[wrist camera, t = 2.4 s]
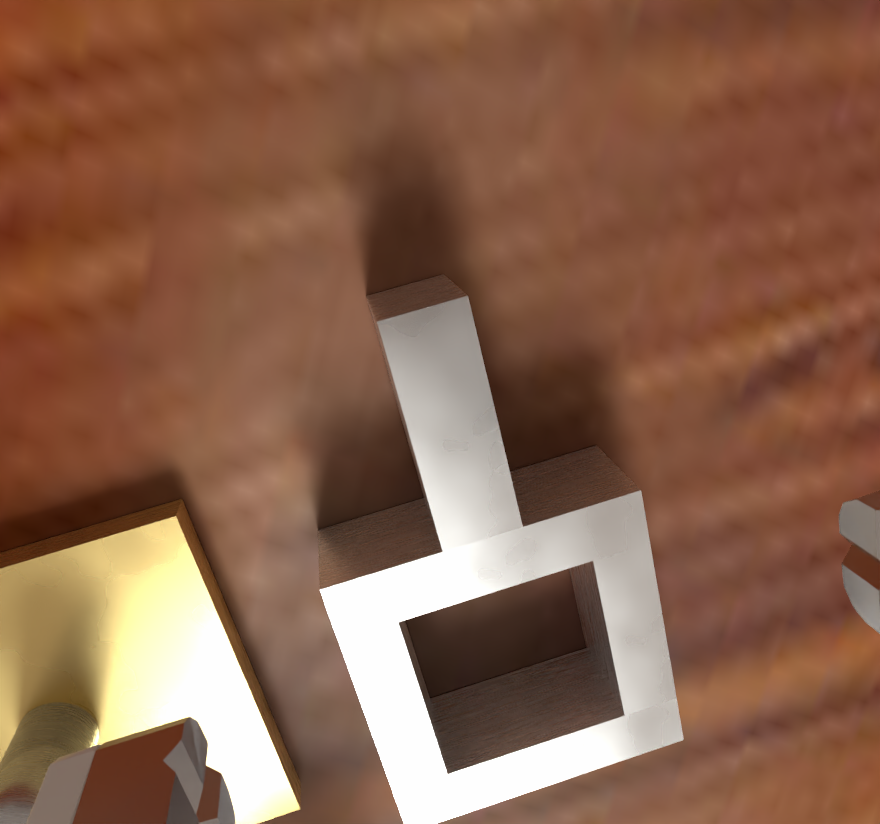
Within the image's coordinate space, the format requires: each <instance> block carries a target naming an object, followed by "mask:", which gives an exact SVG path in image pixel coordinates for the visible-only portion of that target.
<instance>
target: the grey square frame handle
mask: <svg viewBox="0 0 880 824" xmlns="http://www.w3.org/2000/svg"><path fill="white" fill-rule="evenodd" d="M366 298H367V301H368V305H369V308H370V312H371V315H372V318H373V322H374V325H375V329H376V332H377V336H378V339H379V343H380V346H381V350H382V353H383V357H384V360H385V364H386V367H387V371H388V374H389V378H390V381H391V385H392V388H393V392H394V395H395V398H396V402H397V405H398V409H399V412H400V416H401V419H402V423H403V426H404V430H405V433H406V437H407V440H408V444H409V447H410V451H411V454H412V458H413V461H414V465H415V468H416V472H417V475H418V478H419V482H420V485H421V489H422V492H423V496H424V498H422V499H419V500H415V501H412V502H409V503H406V504H402V505H399V506H396V507H392V508H389V509H386V510H383V511H379V512H376V513H373V514H369V515H366V516H363V517H360V518H356V519H353V520H350V521H346V522H343V523H340V524H337V525H333V526H330V527H327V528H323V529H320V530H318V554H319V582H320V592H321V595H322V598H323V600H324V603H325V606H326V609H327V611H328V614H329V617H330V620H331V622H332V625H333V628H334V631H335V634H336V636H337V639H338V642H339V645H340V647H341V650H342V653H343V656H344V658H345V661H346V664H347V667H348V670H349V672H350V675H351V678H352V681H353V683H354V686H355V689H356V692H357V694H358V697H359V700H360V703H361V705H362V708H363V711H364V714H365V717H366V719H367V722H368V725H369V728H370V730H371V733H372V736H373V739H374V741H375V744H376V747H377V750H378V753H379V755H380V758H381V761H382V764H383V766H384V769H385V772H386V775H387V777H388V780H389V783H390V786H391V789H392V791H393V794H394V797H395V800H396V802H397V805H398V808H399V811H400V813H401V816H402V819H403V822H404V824H436V823H439V822H442V821H445V820H448V819H451V818H454V817H457V816H460V815H463V814H466V813H469V812H472V811H474V810H477V809H480V808H483V807H486V806H489V805H492V804H495V803H498V802H501V801H504V800H507V799H510V798H513V797H516V796H519V795H522V794H525V793H528V792H531V791H534V790H537V789H540V788H543V787H546V786H549V785H552V784H554V783H557V782H560V781H563V780H566V779H569V778H572V777H575V776H578V775H581V774H584V773H587V772H590V771H593V770H596V769H599V768H602V767H605V766H608V765H611V764H614V763H617V762H620V761H623V760H626V759H629V758H632V757H635V756H637V755H640V754H643V753H646V752H649V751H652V750H655V749H658V748H661V747H664V746H667V745H670V744H673V743H676V742H679V741H682V740H684V739H683V733H682V727H681V722H680V716H679V710H678V704H677V698H676V692H675V686H674V681H673V675H672V669H671V663H670V657H669V651H668V645H667V640H666V634H665V628H664V622H663V616H662V610H661V604H660V599H659V593H658V587H657V581H656V575H655V569H654V563H653V558H652V552H651V546H650V540H649V534H648V528H647V522H646V517H645V511H644V505H643V499H642V493H641V490H640V489H639V488H638V487H637V486H636V485H635V484H634V483H633V482H632V481H631V480H630V479H629V478H628V477H627V476H626V475H625V474H624V473H623V472H622V471H621V470H620V469H619V467H618V466H617V465H616V464H615V463H614V462H613V461H612V460H611V459H610V458H609V457H608V456H607V455H606V454H605V453H604V452H603V451H602V450H601V449H600V448H599V447H598V446H597V445H596V446H593V447H589V448H586V449H583V450H580V451H576V452H573V453H570V454H566V455H563V456H560V457H557V458H553V459H550V460H547V461H543V462H540V463H537V464H534V465H530V466H527V467H524V468H520V469H517V470H514V471H511V472H510V470H509V466H508V462H507V458H506V454H505V449H504V445H503V441H502V437H501V433H500V428H499V424H498V420H497V416H496V412H495V407H494V403H493V399H492V395H491V391H490V386H489V382H488V378H487V374H486V370H485V365H484V361H483V357H482V353H481V349H480V344H479V340H478V336H477V332H476V328H475V324H474V319H473V315H472V311H471V307H470V303H469V298H468V295H467V294H465V293H464V292H463V291H462V290H461V289H460V288H459V287H458V286H456V285H455V284H454V283H453V282H452V281H451V280H450V279H449V278H447V277H446V276H445V275H444V274H442V275H439V276H435V277H432V278H428V279H425V280H421V281H418V282H414V283H410V284H407V285H403V286H400V287H396V288H393V289H389V290H386V291H382V292H379V293H375V294H372V295H368V296H366ZM565 569H569V571H570V576H571V580H572V585H573V589H574V594H575V599H576V603H577V608H578V612H579V617H580V622H581V626H582V631H583V635H584V640H585V644H586V648H584V649H581V650H578V651H575V652H572V653H569V654H566V655H563V656H560V657H557V658H554V659H551V660H547V661H544V662H541V663H538V664H535V665H532V666H529V667H526V668H523V669H520V670H517V671H514V672H511V673H507V674H504V675H501V676H498V677H495V678H492V679H489V680H486V681H483V682H480V683H477V684H474V685H470V686H467V687H464V688H461V689H458V690H455V691H452V692H449V693H446V694H443V695H440V696H437V697H434V698H430V697H429V694H428V691H427V688H426V685H425V681H424V678H423V675H422V672H421V669H420V666H419V663H418V659H417V656H416V653H415V650H414V647H413V644H412V641H411V637H410V634H409V631H408V628H407V625H406V622H405V620H407V619H410V618H414V617H417V616H420V615H423V614H426V613H429V612H433V611H436V610H439V609H442V608H445V607H448V606H452V605H455V604H458V603H461V602H464V601H467V600H471V599H474V598H477V597H480V596H483V595H486V594H489V593H493V592H496V591H499V590H502V589H505V588H508V587H512V586H515V585H518V584H521V583H524V582H527V581H531V580H534V579H537V578H540V577H543V576H546V575H550V574H553V573H556V572H559V571H562V570H565Z"/></svg>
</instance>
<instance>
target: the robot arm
mask: <svg viewBox="0 0 880 824" xmlns="http://www.w3.org/2000/svg"><path fill="white" fill-rule="evenodd" d="M839 528H840V534H841V535H842V536H843V537H844V538H845V539H846V540H848V541H849V542H850V543H851V544H852V545H851V547H850V549H849V551H848V553H847V555H846V556H845V558H844V560H843V562H842V571H843V581H844V587H845V590H846V592H847V594H848V596H849V598H850V600H851V603H852V605H853V607H854V608H855V610H856V611H857V612H858V613H859V615H860V616H861V617H862V618H863V620H864V621H865V622H866V623H867V624H869V625H870V626H871V627H872V628H873V629H875V630H876V631H877V632H878V633H880V490H879V491H876V492H873V493H870V494H867V495H865V496H862V497H859V498H856V499H853V500H850V501H847V502H844V503H843V505H842V508H841V511H840V514H839ZM207 752H208V741H207V739H206V737H205V735H204V733H203V731H202V729H201V727H200V725H199V723H198V721H197V720H195V719H193V718H192V717H186V718H183V719H180V720H177V721H173V722H170V723H167V724H163V725H160V726H157V727H154V728H150V729H147V730H144V731H141V732H137V733H134V734H131V735H127V736H124V737H121V738H118V739H114V740H111V741H108V742H105V743H103V744H102V745H95V746H92V747H89V748H86V749H83V750H80V751H77V752H74V753H71V754H68V755H65V756H62V757H59V758H58V759H57V760H55V761H54V762H53V763H52V764H50V766H49V768H48V770H47V772H46V775H45V777H44V780H43V782H42V785H41V787H40V790H39V792H38V795H37V797H36V800H35V802H34V805H33V807H32V810H31V812H30V815H29V818H28V820H27V823H26V824H236V819H235V810H234V807H233V803H232V800H231V796H230V792H229V789H228V787H227V785H226V782H225V780H224V777H223V775H222V773H220V772H218V771H217V770H215V769H213V768H211V767H209V766H207V765H206V760H207Z"/></svg>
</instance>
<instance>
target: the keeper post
mask: <svg viewBox="0 0 880 824" xmlns="http://www.w3.org/2000/svg"><path fill="white" fill-rule="evenodd" d="M186 717H192V718H193V719H195V720H197V721H198V723H199V725H200V727H201V729H202V731H203V733H204V735H205V737H206V739H207V741H208V752H207V760H206V765H207V766H209V767H211V768H213V769H215V770H217V771H218V772H220V773H222V775H223V777H224V780H225V782H226V785H227V787H228V789H229V792H230V796H231V800H232V803H233V807H234V810H235V819H236V824H257V823H260V822H263V821H266V820H269V819H272V818H276V817H279V816H282V815H285V814H288V813H291V812H294V811H297V810H300V780H299V778H298V776H297V773H296V771H295V768H294V766H293V764H292V761H291V759H290V756H289V754H288V752H287V749H286V747H285V744H284V742H283V740H282V737H281V735H280V732H279V730H278V728H277V725H276V723H275V720H274V718H273V716H272V713H271V711H270V709H269V706H268V704H267V701H266V699H265V697H264V694H263V692H262V689H261V687H260V685H259V682H258V680H257V677H256V675H255V673H254V670H253V668H252V665H251V663H250V661H249V658H248V656H247V653H246V651H245V649H244V646H243V644H242V641H241V639H240V637H239V634H238V632H237V629H236V627H235V625H234V622H233V620H232V617H231V615H230V613H229V610H228V608H227V606H226V603H225V601H224V598H223V596H222V594H221V591H220V589H219V586H218V584H217V582H216V579H215V577H214V574H213V572H212V570H211V567H210V565H209V562H208V560H207V558H206V555H205V553H204V550H203V548H202V546H201V543H200V541H199V538H198V536H197V534H196V531H195V529H194V526H193V524H192V522H191V519H190V517H189V514H188V512H187V510H186V507H185V505H184V503H183V500H182V499H180V500H176V501H173V502H169V503H166V504H163V505H159V506H156V507H153V508H149V509H146V510H143V511H139V512H136V513H132V514H129V515H126V516H122V517H119V518H116V519H112V520H109V521H106V522H102V523H99V524H95V525H92V526H89V527H85V528H82V529H79V530H75V531H72V532H69V533H65V534H62V535H59V536H55V537H52V538H48V539H45V540H42V541H38V542H35V543H32V544H28V545H25V546H22V547H18V548H15V549H11V550H8V551H5V552H1V553H0V824H26V823H27V820H28V818H29V815H30V812H31V810H32V807H33V805H34V802H35V800H36V797H37V795H38V792H39V790H40V787H41V785H42V782H43V780H44V777H45V775H46V772H47V770H48V768H49V766H50V764H52V763H53V762H54V761H55V760H57V759H58V758H59V757H62V756H65V755H68V754H71V753H74V752H77V751H80V750H83V749H86V748H89V747H92V746H95V745H102V744H103V743H105V742H108V741H111V740H114V739H118V738H121V737H124V736H127V735H131V734H134V733H137V732H141V731H144V730H147V729H150V728H154V727H157V726H160V725H163V724H167V723H170V722H173V721H177V720H180V719H183V718H186Z"/></svg>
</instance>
